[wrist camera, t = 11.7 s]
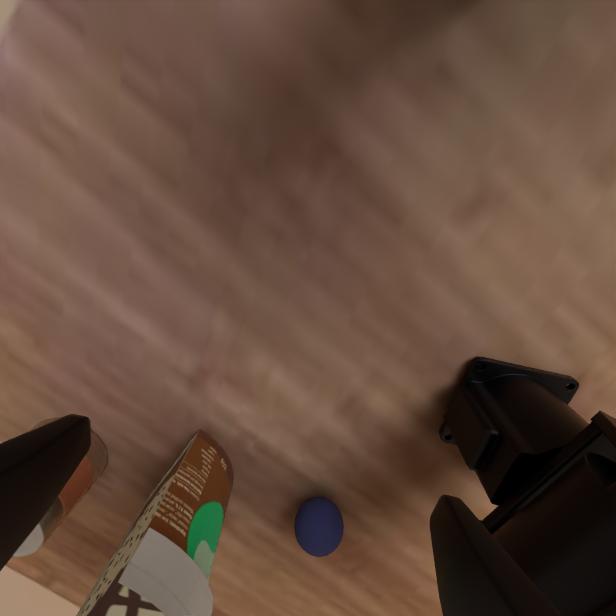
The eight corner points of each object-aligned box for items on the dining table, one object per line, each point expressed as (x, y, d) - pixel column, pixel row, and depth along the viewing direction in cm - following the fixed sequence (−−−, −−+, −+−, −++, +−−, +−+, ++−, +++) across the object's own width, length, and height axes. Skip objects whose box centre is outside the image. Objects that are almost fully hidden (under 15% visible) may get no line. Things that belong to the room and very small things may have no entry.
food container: (202, 542, 28) (135, 723, 18) (139, 509, 27) (35, 681, 17) (280, 458, 24) (246, 635, 14) (209, 416, 23) (122, 575, 13)
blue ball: (347, 491, 24) (350, 540, 21) (336, 523, 26) (337, 573, 22) (301, 481, 24) (297, 528, 21) (293, 513, 26) (287, 562, 22)
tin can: (107, 427, 24) (38, 500, 18) (109, 484, 26) (48, 566, 20) (27, 409, 24) (-67, 477, 18) (36, 469, 26) (-46, 546, 20)
